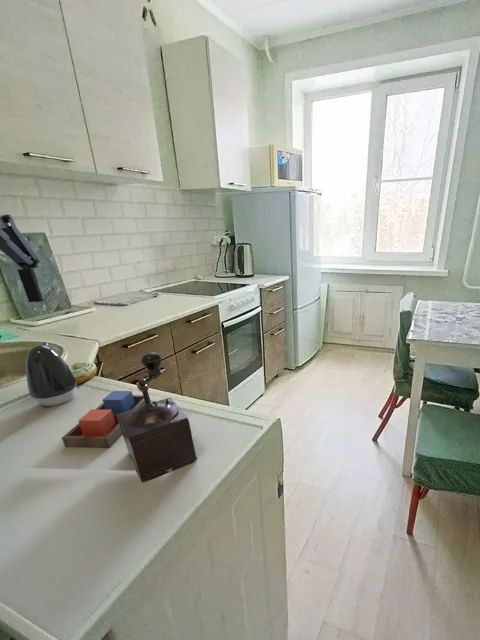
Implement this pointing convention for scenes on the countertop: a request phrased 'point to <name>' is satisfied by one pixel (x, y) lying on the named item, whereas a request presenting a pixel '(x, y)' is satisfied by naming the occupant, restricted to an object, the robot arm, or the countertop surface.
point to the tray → (79, 440)
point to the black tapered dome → (49, 376)
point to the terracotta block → (97, 423)
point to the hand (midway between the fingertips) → (10, 309)
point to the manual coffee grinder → (156, 430)
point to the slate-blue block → (119, 401)
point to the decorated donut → (83, 371)
